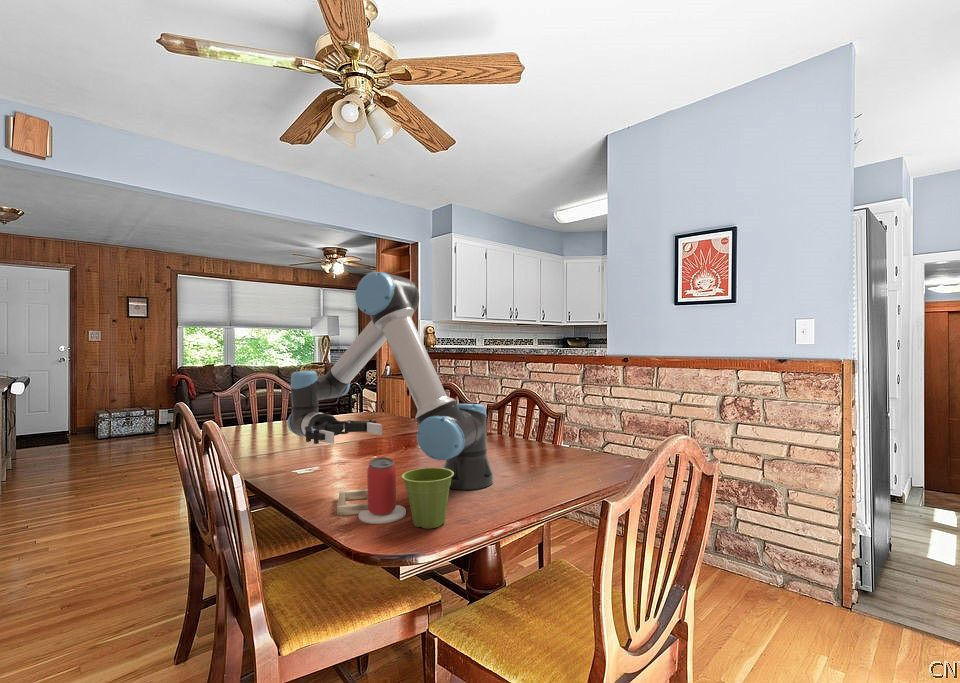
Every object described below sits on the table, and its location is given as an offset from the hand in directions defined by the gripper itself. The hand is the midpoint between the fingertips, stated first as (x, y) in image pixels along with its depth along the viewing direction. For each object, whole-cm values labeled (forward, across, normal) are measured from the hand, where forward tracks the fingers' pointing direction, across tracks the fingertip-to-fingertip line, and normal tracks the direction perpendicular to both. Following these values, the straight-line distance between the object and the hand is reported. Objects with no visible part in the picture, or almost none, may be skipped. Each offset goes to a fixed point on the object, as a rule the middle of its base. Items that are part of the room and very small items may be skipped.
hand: (357, 433), depth 124 cm
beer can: (+10, 0, -17) cm, 20 cm away
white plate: (+10, 0, -18) cm, 21 cm away
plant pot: (+22, -5, -19) cm, 29 cm away
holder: (0, -1, -18) cm, 18 cm away
